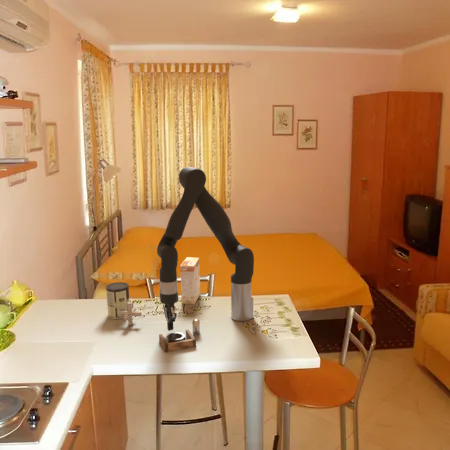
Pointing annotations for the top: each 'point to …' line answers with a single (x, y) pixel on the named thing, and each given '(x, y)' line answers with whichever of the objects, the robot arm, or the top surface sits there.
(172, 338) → the metal ring
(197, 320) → the beige rounded cylinder
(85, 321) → the top surface
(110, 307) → the coffee can
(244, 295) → the robot arm
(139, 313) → the pipe connector
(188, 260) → the coffeecake box
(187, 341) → the groove block
